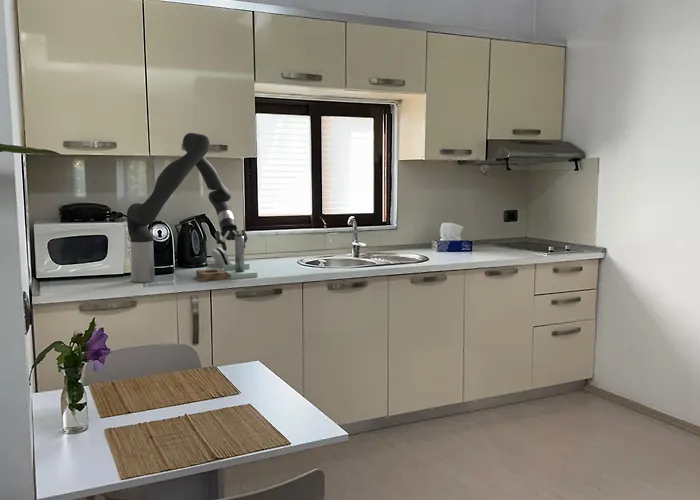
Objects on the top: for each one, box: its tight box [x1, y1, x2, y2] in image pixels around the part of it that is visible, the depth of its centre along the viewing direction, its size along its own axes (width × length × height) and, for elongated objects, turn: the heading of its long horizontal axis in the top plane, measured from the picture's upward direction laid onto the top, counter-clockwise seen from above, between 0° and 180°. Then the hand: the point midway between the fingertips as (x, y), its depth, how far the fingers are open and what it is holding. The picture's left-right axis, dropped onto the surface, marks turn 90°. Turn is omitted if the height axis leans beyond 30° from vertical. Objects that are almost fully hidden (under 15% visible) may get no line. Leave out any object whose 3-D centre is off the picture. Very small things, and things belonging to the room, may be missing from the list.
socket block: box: [195, 268, 229, 282], centre depth 279 cm, size 11×11×3 cm
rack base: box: [222, 262, 258, 280], centre depth 285 cm, size 12×12×4 cm
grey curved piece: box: [211, 246, 234, 268], centre depth 313 cm, size 17×5×10 cm, turn 26°
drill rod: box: [234, 233, 245, 272], centre depth 283 cm, size 4×4×17 cm
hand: (234, 249), depth 290 cm, fingers open, 8 cm apart
